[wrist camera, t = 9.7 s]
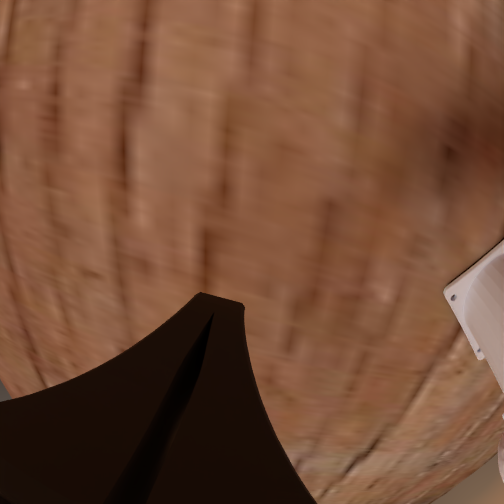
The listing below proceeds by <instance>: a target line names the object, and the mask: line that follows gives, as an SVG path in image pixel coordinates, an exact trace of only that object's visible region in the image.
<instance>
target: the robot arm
mask: <svg viewBox="0 0 504 504" xmlns="http://www.w3.org/2000/svg"><path fill="white" fill-rule="evenodd" d="M443 293H444V296H445V297H446V299H447V301H448V303H449V304H450V306H451V308H452V310H453V312H454V313H455V315H456V317H457V319H458V321H459V323H460V325H461V327H462V328H463V330H464V332H465V334H466V336H467V338H468V340H469V342H470V344H471V346H472V348H473V350H474V352H475V354H476V356H477V358H478V360H482V359H484V358H486V360H487V362H488V364H489V365H490V367H491V369H492V371H493V373H494V375H495V377H496V379H497V381H498V383H499V385H500V387H501V389H502V391H503V393H504V240H503V241H502V242H500V243H499V244H498V245H497V246H496V247H495V248H494V249H492V250H491V251H490V252H489V253H488V254H486V255H485V256H484V257H483V258H482V259H480V260H479V261H478V262H477V263H476V264H474V265H473V266H472V267H471V268H469V269H468V270H467V271H466V272H464V273H463V274H462V275H461V276H459V277H458V278H457V279H455V280H454V281H453V282H452V283H450V284H449V285H448V286H446V287H445V289H444V292H443ZM453 295H455V296H454V297H452V296H453ZM451 297H452V298H451ZM244 310H245V307H244V305H243V304H242V303H240V302H236V301H232V300H228V299H225V298H221V297H217V296H213V295H210V294H206V293H202V292H200V293H198V294H196V295H195V296H194V297H193V298H192V299H191V300H190V301H189V302H188V303H187V304H186V305H185V306H184V307H182V308H181V309H180V310H179V311H178V312H177V313H176V314H174V315H173V316H172V317H171V318H170V319H168V320H167V321H166V322H165V323H163V324H162V325H161V326H160V327H158V328H157V329H156V330H155V331H153V332H152V333H151V334H149V335H148V336H146V337H145V338H144V339H142V340H141V341H139V342H138V343H136V344H135V345H134V346H132V347H131V348H129V349H127V350H126V351H124V352H123V353H121V354H119V355H118V356H116V357H114V358H113V359H111V360H109V361H107V362H106V363H104V364H102V365H100V366H98V367H96V368H94V369H92V370H90V371H88V372H86V373H84V374H82V375H80V376H78V377H75V378H73V379H71V380H69V381H66V382H64V383H61V384H58V385H56V386H53V387H50V388H47V389H44V390H42V391H39V392H36V393H33V394H30V395H26V396H23V397H19V398H15V399H11V400H6V401H2V402H0V504H317V502H316V501H315V500H314V498H313V497H312V496H311V494H310V493H309V491H308V490H307V488H306V487H305V485H304V484H303V482H302V481H301V479H300V477H299V476H298V474H297V473H296V471H295V469H294V468H293V466H292V464H291V462H290V460H289V458H288V457H287V455H286V453H285V451H284V449H283V447H282V445H281V444H280V442H279V440H278V438H277V436H276V434H275V431H274V429H273V427H272V425H271V422H270V420H269V418H268V415H267V413H266V410H265V408H264V405H263V402H262V400H261V397H260V394H259V391H258V388H257V384H256V381H255V377H254V374H253V370H252V366H251V362H250V357H249V352H248V347H247V342H246V335H245V325H244ZM502 417H503V419H504V413H503V414H502ZM498 464H499V470H500V474H501V477H502V480H503V482H504V432H503V434H502V435H501V438H500V440H499V445H498Z"/></svg>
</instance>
